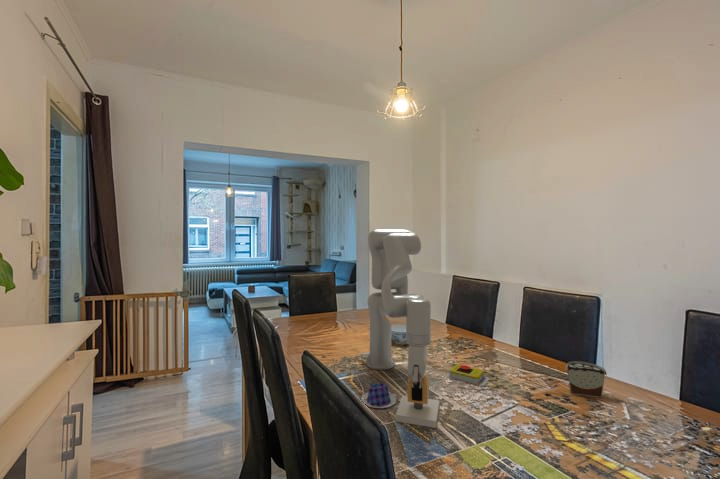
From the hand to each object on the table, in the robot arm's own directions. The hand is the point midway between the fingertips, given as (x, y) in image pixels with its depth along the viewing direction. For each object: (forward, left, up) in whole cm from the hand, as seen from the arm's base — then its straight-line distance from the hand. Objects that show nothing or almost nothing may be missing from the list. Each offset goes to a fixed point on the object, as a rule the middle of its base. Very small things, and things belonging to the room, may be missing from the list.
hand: (418, 395), depth 103 cm
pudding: (-14, +5, -6) cm, 16 cm away
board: (0, 0, -6) cm, 6 cm away
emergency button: (+15, +34, -7) cm, 38 cm away
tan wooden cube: (0, 0, -1) cm, 1 cm away
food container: (+55, +33, -6) cm, 64 cm away
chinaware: (-18, +70, -6) cm, 73 cm away
